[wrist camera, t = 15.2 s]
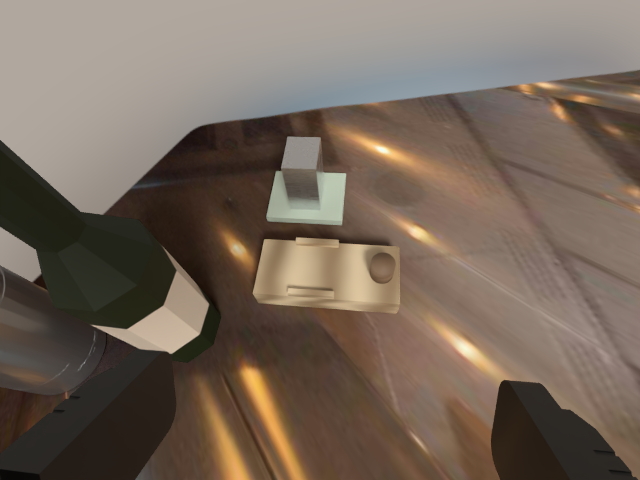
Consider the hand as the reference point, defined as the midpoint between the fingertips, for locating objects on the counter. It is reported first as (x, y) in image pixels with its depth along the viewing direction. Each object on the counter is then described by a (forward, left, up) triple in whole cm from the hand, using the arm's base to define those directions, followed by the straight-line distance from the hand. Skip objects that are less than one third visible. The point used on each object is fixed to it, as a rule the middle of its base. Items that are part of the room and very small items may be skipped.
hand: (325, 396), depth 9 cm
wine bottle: (-19, +9, -30) cm, 37 cm away
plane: (-3, +16, -30) cm, 34 cm away
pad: (-7, +28, -30) cm, 42 cm away
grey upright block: (-7, +28, -29) cm, 41 cm away
